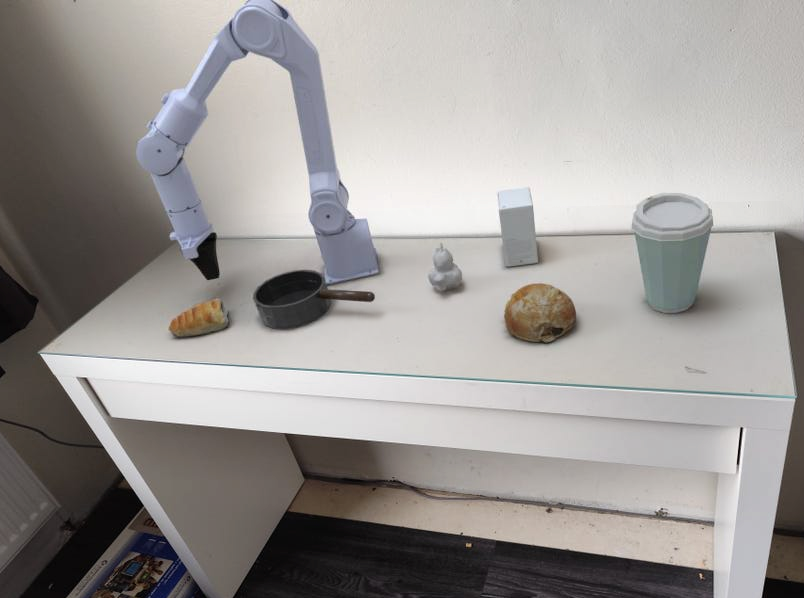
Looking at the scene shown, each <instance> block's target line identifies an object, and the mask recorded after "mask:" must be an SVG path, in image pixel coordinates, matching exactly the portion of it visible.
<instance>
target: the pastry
mask: <svg viewBox="0 0 804 598" xmlns="http://www.w3.org/2000/svg"><path fill="white" fill-rule="evenodd" d="M228 325H229V319H228V309H227V307H226V306H225V304H224V302H223V301H222V300H221V299H220V298H218V297H217V298H216V297H215V299H214V300H210V301H203V302H201V303H200V302H199V303H197V304H195V305H194V306H193V307H191V308H188V310H186V311H182V312H181V313H180V314H179V315H177V316H176V317H174V318H173V319H172V320H171V321H170V324H169V326H168V330H169V332H170V333H171V334H172V335H175V336H176V337H182V338H183V337H187V338H188V337H189V336H190V337H191V336H193V337H194V336H195V337H196V336H200V335H206V334H210V333H211V332H217V331H221V330H222V329H224V328H226V327H228Z"/></svg>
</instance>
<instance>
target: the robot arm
mask: <svg viewBox="0 0 804 598" xmlns="http://www.w3.org/2000/svg"><path fill="white" fill-rule="evenodd" d="M249 53H251V54H254V55H257V56H260V57H262V58H263V57H264V58H266V59H269V60H271V61H273V62H274V63H276V64H277V65H279V66H280V67H282V68H283V69H284V70H285V71H287V72H288V73H289V76H290V77H289V78H290V83H291V88H292V92H293V98H294V104H295V109H296V114H297V120H298V124H299V125H298V126H299V131H300V136H301V141H302V146H303V151H304V157H305V162H306V167H307V168H306V169H307V173H308V183H309V194H310V206H309V209H308V214H307V215H308V220H309V223H310V224H311V226H312V228H313V231H314V234H315V239H316V241H317V245H318V248H319V253H320V255H321V258H322V261H323V269H324V277H325V280H326V283H327V286H328V285H332V284H333V285H334V284H336V283H341V282H346V281H350V280H356V279H360V278H364V277H369V276H374V275H378V274H379V272H380V271H379V266H378V260H377V259H378V258H379V257H378V252H377V249H376V247H374V242H373V238H372V234H371V230H370V226H369V222H368V219H367V218H355V215H353V213H352V212H351V211H350V210H349V209H348V204H349V198H350V195H349V191H348V189H347V187H346V186H345V184H344V183H343V182H342V179H341V175H340V171H339V168H338V165H337V160H336V159H337V158H336V152H335V146H334V141H333V135H332V128H331V120H330V115H329V109H328V102H327V98H326V97H327V96H326V91H325V84H324V78H323V77H324V76H323V72H322V65H321V60H320V59H321V58H320V54H319V51H318V49H317V47H316V46H315V44H314V43H313V42H312V41H311V38H309V37H308V35H307V34H306V32H304V31H303V29H302V28H301V27H300V25H299V24H298V23H297V21H295V19H294V17H293V16H292V14H291V12H290V10H289V9H287V8H286V7H284V6H283V5H281V4H280V3H278V2H277V1H275V0H246V2H245V3H244V4H243V5H242V6H240V7H239V8H238V9H237V10H236V11H235V13H234V14H233V17H232V18H230V20H229V21H228V22H227V23H226V24H225V25H224V26H223V27H222V28H221V29H220V30H219V31H218V32H217V34H216V35H215V36H214V38H213V39H212V40H211V42H210V45H209V46H208V48H207V50H206V51H205V53H204V55H203V57H202V59H201V60H200V63H199V64H198V66H197V67H196V69H195V71H194V72H193V74H192V77H191V78H190V80H189V81H188V83H187V85H186V86H185V87H184V88H175V89H172V91H171V92H170V94H169V93H168V92H166V93H164V95H163V96H162V98H161V100H160V103H161V104H163V105H162V107H161V108H160V110H159V111H158V113H157V115H156V117H155V119H154V120H150V121H149V122H148V123H147V125H146V129H147V130H148V133H147V134H146V135H145V136H143V137H142V138H141V139H139V140H138V142H137V147H136V151H135V155H136V159H137V162H138V164H139V165H140V166H141V167H142V168H143V169H144V170H145V171H146V172H148V173H149V174H150V176H151V179H152V183H153V184H154V187H155V189H156V192H157V194H158V196H159V198H160V200H161V203H162V205H163V208H164V211H165V212H166V214H167V217H168V219H169V221H170V223H171V226H172V228H173V230H174V231H172V232H170V234H169V239H170V241H177V242H178V243H179V245H180V249H179V250H180V252H181V255H183V257H184V260H185V261H187V260H189V261H191V262H192V263H193V264H194V266H196V268H197V269H198V270H199V272H200V273H201V274H202V276H203V277H204V278H205V280H206V281H212V280H217V279H219V278H220V275H221V274H220V273H221V272H220V266H219V260H218V253H217V238H218V235H217V232H215V231H214V225H213V224H212V223H211V221H210V219H209V217H208V215H207V212H206V209H205V207H204V204H203V202H202V199H201V197H200V195H199V193H198V190H197V188H196V187H197V186H196V185H195V182H194V179H193V177H192V174H191V173H190V171H189V168H188V166H187V163H186V161H185V158H184V155H185V153H186V149H187V148H188V147H189V146H190V144H191V143H192V141H193V139H194V137H195V136H196V135H197V134H198V131H199V130H200V129H201V127H202V125H203V124H204V122H205V121H206V120H207V118H208V116H209V110H208V107H207V103H206V102H207V101H206V100H207V99H208V98H209V96H210V94H211V93H212V92H213V90H214V89H215V87H216V85H218V83H219V81H220V79H221V78H222V77H223V75H224V74H225V72H226V71H227V69H228V68H229V67H230V65H231V64H232V62H235V61H238V60H241V59H244V58H246V57H247V56H248V54H249Z"/></svg>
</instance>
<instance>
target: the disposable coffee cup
mask: <svg viewBox="0 0 804 598" xmlns="http://www.w3.org/2000/svg"><path fill="white" fill-rule="evenodd" d="M630 227H631V230H633V232H634V237H635V242H636V248H637V253H638V259H639V265H640V271H641V276H642V281H643V287H644V293H645V299H646V302H648V305H649V307H651V308H652V309H653V311H656V312H660V313H662V314H678V313H682V312H685V311H687V310H688V309H689V308H691V307H692V305H693V304H694V302H695V301H696V297H697V294H698V293H697V292H698V288H699V284H700V280H701V276H702V272H703V271H702V270H703V267H704V262H705V257H706V253H707V249H708V245H709V239H710V235H711V232H712V228H713V227H714V216H713V210H712V208H710V207H709V205H708V204H707V203H705V201H702V200H701V199H700V198H699V197H697V196H693V195H689V194H685V193H681V192H680V193H679V192H662V193H658V194H653V195H651V196H649V197H646V198H644V199H643V200H641V201H640V202H639V203H638V204H636V207H635V211H634V212H633V215H632V219H631V226H630Z"/></svg>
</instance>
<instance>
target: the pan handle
mask: <svg viewBox="0 0 804 598" xmlns="http://www.w3.org/2000/svg"><path fill="white" fill-rule="evenodd" d="M319 297H320V298H321V299H331V301H332V300H333V301H347V302H348V301H349V302H364V303H372V302H374V301H375V299H376V295H375V293H374V292H373V291H367V290H366V291H364V290H349V289H333V288H332V289H331V288H328V289H321V290H320V292H319Z"/></svg>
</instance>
